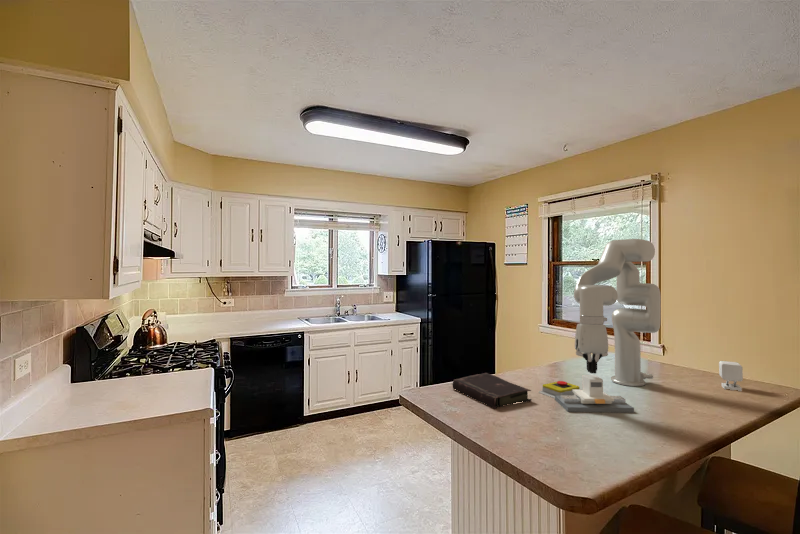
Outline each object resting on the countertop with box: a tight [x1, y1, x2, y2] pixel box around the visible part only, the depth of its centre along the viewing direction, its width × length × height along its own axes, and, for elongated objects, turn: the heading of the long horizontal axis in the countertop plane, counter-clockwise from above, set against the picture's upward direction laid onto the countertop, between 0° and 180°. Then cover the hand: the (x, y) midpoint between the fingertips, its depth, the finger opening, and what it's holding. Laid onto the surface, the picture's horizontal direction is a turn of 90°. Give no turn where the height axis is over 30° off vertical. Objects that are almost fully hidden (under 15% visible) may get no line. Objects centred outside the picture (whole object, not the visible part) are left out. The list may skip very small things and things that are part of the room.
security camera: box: [718, 360, 744, 392], centre depth 153 cm, size 6×7×10 cm
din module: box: [581, 374, 604, 397], centre depth 134 cm, size 4×6×6 cm
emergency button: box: [538, 380, 581, 399], centre depth 148 cm, size 9×4×15 cm
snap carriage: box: [572, 389, 614, 404], centre depth 133 cm, size 10×11×2 cm
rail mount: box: [554, 395, 635, 413], centre depth 134 cm, size 22×12×3 cm, turn 87°
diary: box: [452, 372, 532, 410], centre depth 146 cm, size 19×25×5 cm
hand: (591, 372), depth 134 cm, fingers closed
